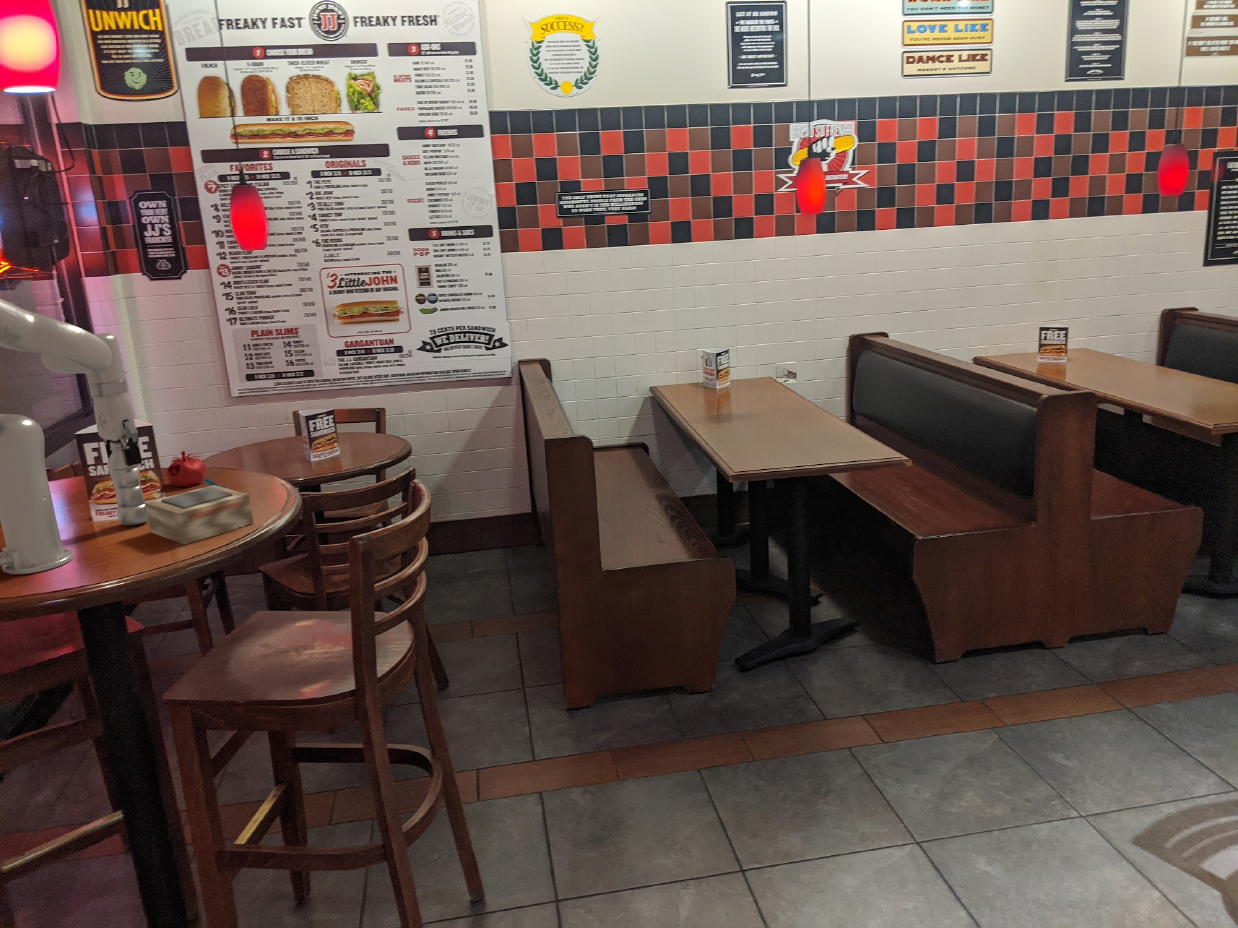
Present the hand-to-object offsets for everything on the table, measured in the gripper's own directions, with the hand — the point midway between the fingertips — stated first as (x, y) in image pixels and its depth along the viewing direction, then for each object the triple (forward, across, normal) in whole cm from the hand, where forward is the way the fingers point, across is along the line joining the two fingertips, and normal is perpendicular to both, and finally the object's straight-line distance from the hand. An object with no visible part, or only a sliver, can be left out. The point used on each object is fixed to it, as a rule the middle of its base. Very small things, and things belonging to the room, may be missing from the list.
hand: (125, 461), depth 212 cm
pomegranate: (+16, -25, +24) cm, 38 cm away
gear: (+16, +4, +19) cm, 25 cm away
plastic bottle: (+15, 0, -1) cm, 15 cm away
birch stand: (+15, +18, +6) cm, 24 cm away
